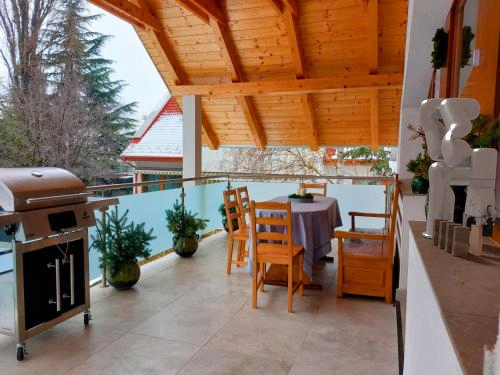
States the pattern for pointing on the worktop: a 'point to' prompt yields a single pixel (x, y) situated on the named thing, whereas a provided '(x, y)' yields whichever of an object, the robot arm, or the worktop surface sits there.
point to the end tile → (476, 240)
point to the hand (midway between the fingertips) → (478, 233)
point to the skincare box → (478, 222)
